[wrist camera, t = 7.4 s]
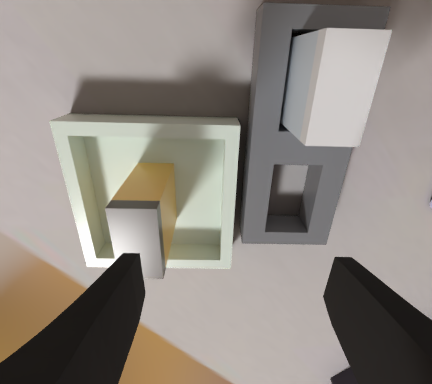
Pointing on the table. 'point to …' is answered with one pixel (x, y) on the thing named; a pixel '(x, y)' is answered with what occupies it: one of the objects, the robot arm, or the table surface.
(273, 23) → the block
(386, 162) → the table surface
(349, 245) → the table surface
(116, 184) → the parts tray
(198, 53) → the table surface
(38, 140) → the table surface
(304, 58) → the block
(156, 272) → the yellow rectangular block
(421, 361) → the robot arm
